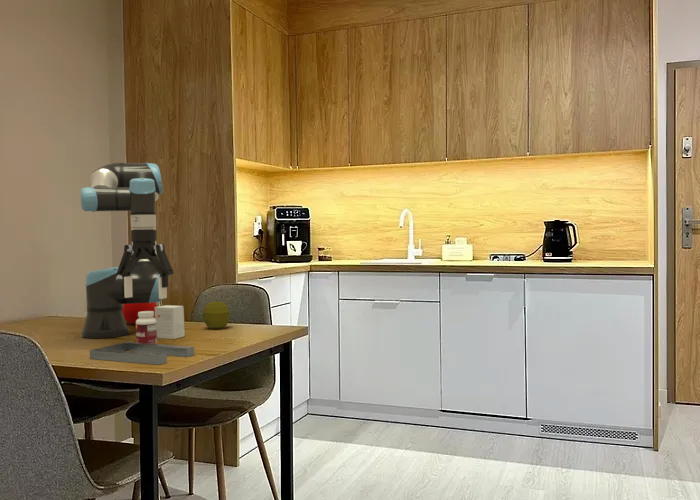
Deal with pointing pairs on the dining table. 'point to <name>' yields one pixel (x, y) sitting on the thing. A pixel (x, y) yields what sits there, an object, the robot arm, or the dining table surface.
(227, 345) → the dining table surface
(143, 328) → the pill bottle
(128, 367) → the dining table surface
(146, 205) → the robot arm
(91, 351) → the grey u-shaped frame
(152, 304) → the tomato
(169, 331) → the small box
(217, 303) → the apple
